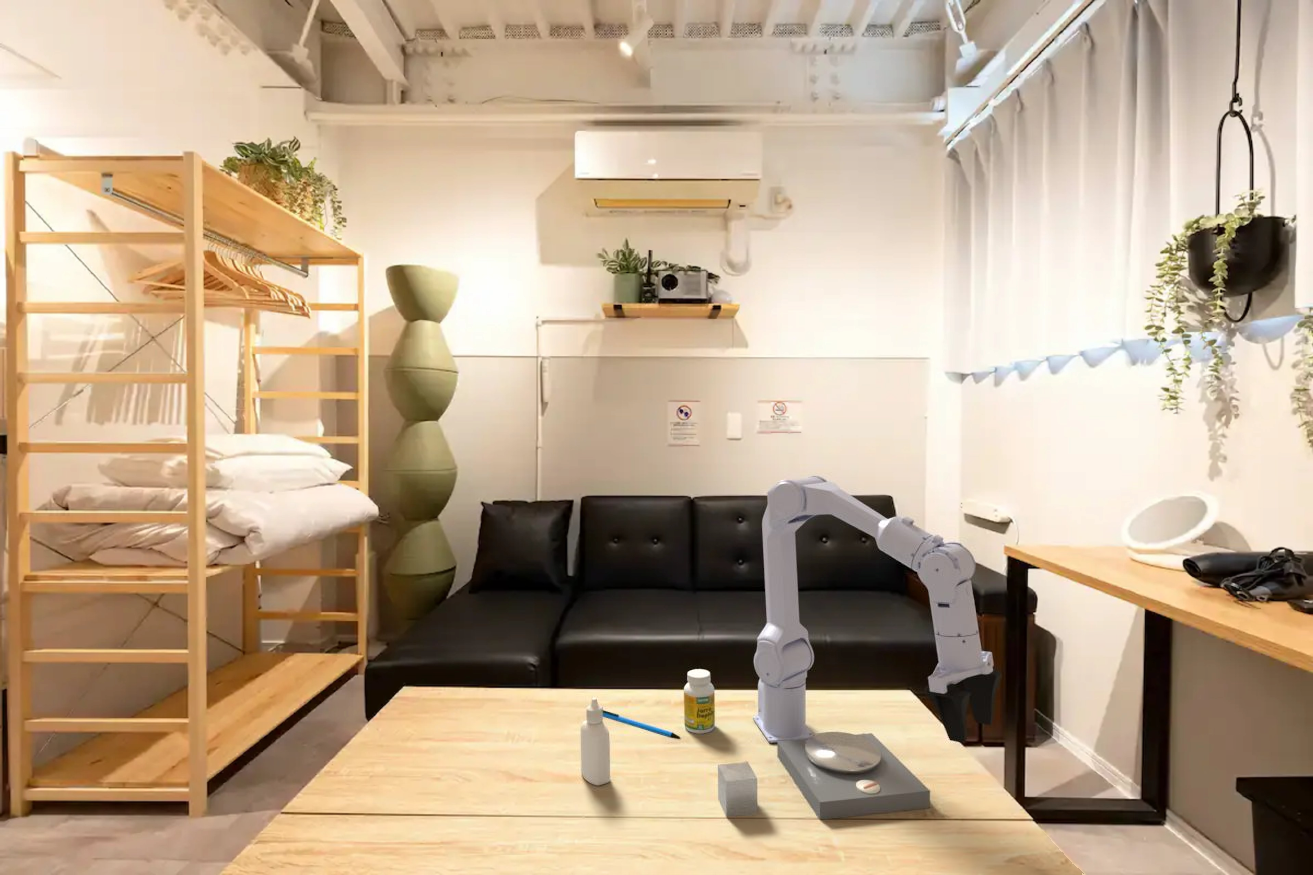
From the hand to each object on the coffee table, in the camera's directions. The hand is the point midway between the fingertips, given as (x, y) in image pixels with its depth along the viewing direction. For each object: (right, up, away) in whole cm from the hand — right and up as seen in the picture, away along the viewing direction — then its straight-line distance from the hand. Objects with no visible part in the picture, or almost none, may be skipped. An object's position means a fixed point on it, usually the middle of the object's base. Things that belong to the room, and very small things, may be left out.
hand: (971, 731), depth 93 cm
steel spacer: (-32, -11, +1) cm, 34 cm away
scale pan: (-15, -7, +9) cm, 19 cm away
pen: (-47, -11, +26) cm, 55 cm away
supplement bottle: (-36, -10, +25) cm, 45 cm away
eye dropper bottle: (-53, -11, +9) cm, 54 cm away
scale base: (-15, -10, +8) cm, 20 cm away
